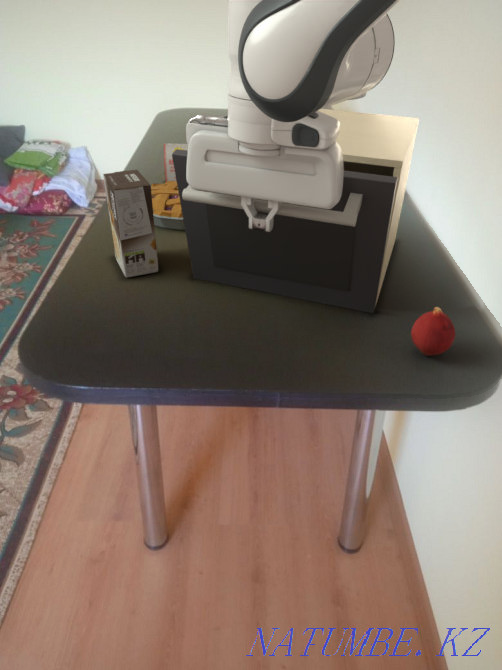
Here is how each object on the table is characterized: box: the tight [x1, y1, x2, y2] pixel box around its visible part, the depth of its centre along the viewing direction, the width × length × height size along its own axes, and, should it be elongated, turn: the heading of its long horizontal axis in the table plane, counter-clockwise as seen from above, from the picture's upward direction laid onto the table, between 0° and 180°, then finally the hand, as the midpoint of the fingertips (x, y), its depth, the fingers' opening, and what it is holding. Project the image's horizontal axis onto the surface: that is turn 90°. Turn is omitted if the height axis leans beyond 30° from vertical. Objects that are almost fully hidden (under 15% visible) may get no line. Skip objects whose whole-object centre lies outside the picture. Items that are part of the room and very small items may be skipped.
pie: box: [151, 180, 185, 231], centre depth 115 cm, size 22×22×5 cm
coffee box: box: [102, 169, 159, 278], centre depth 91 cm, size 9×6×16 cm
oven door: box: [172, 149, 398, 314], centre depth 78 cm, size 7×32×24 cm, turn 70°
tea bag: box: [163, 143, 189, 183], centre depth 129 cm, size 4×7×10 cm, turn 92°
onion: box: [410, 306, 456, 357], centre depth 73 cm, size 6×6×8 cm
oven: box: [318, 109, 420, 308], centre depth 93 cm, size 28×32×24 cm
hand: (260, 229), depth 69 cm, fingers closed
